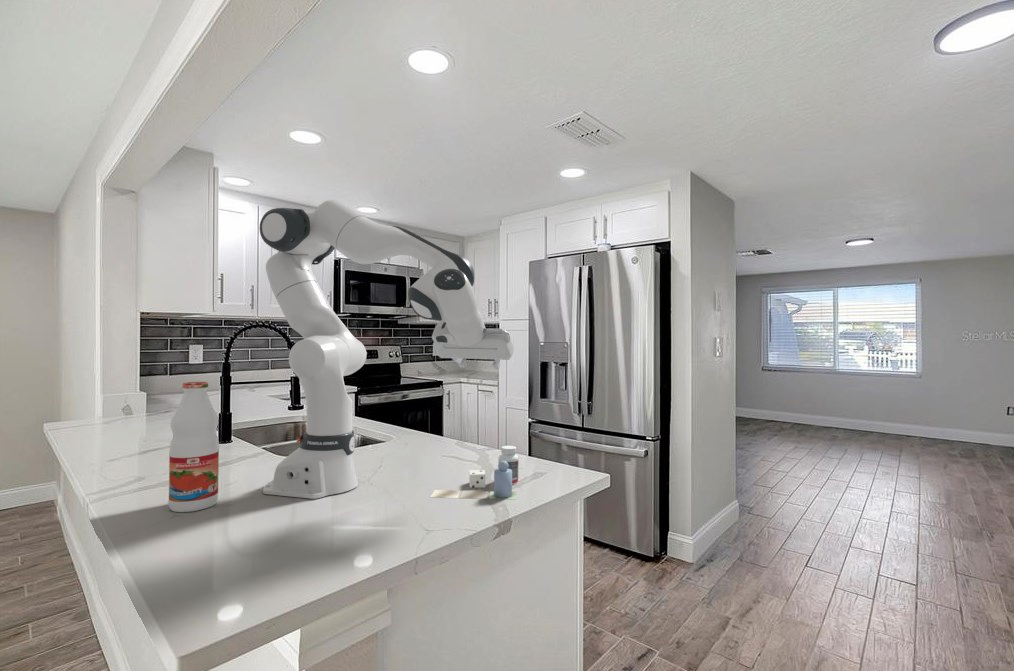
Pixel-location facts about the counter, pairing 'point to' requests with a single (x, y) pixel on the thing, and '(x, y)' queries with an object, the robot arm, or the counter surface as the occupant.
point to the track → (468, 494)
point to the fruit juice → (194, 451)
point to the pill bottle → (510, 461)
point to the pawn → (503, 480)
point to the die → (476, 478)
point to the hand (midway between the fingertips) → (480, 366)
